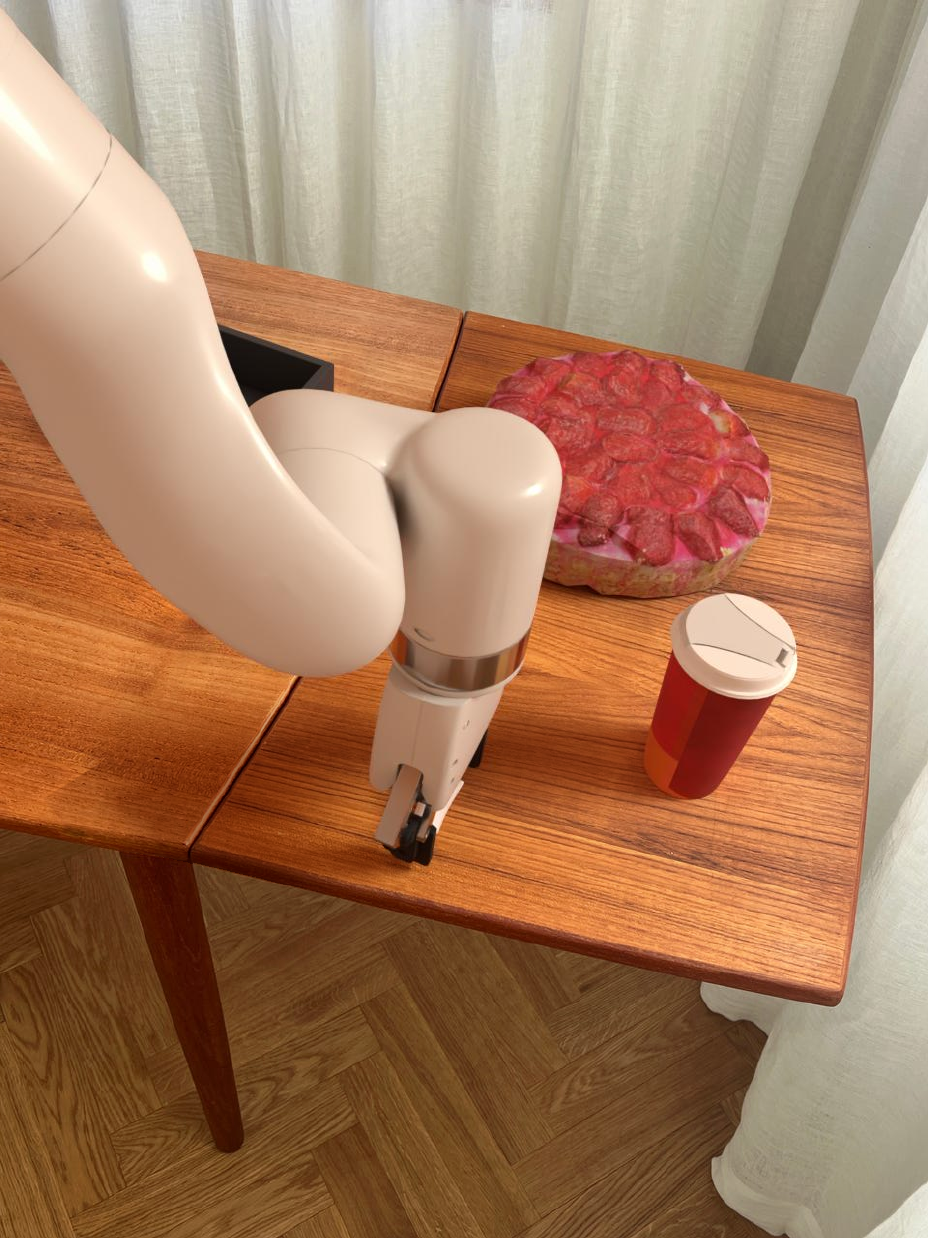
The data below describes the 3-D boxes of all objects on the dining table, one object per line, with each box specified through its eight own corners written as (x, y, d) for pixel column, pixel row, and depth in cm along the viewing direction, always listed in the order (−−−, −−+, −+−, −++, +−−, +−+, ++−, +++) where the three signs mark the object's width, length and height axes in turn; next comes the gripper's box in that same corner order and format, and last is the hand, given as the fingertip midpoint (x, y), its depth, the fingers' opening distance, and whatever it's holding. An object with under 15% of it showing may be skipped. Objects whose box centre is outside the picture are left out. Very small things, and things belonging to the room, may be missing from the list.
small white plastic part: (379, 818, 72) (381, 792, 69) (446, 767, 75) (450, 740, 72) (417, 855, 70) (420, 830, 68) (483, 802, 73) (489, 776, 71)
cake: (506, 365, 103) (520, 293, 97) (768, 442, 101) (800, 374, 95) (426, 555, 88) (436, 485, 82) (732, 649, 86) (767, 585, 80)
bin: (110, 453, 92) (100, 399, 88) (199, 367, 100) (194, 314, 96) (255, 508, 89) (252, 455, 85) (333, 415, 98) (334, 363, 94)
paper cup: (754, 755, 78) (822, 624, 67) (710, 833, 73) (776, 707, 63) (655, 701, 80) (705, 567, 70) (606, 774, 76) (652, 642, 65)
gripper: (458, 502, 65) (434, 688, 78) (317, 718, 54) (317, 891, 67) (579, 546, 63) (534, 727, 77) (459, 777, 52) (431, 942, 66)
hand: (433, 803), depth 72 cm, fingers open, 7 cm apart
